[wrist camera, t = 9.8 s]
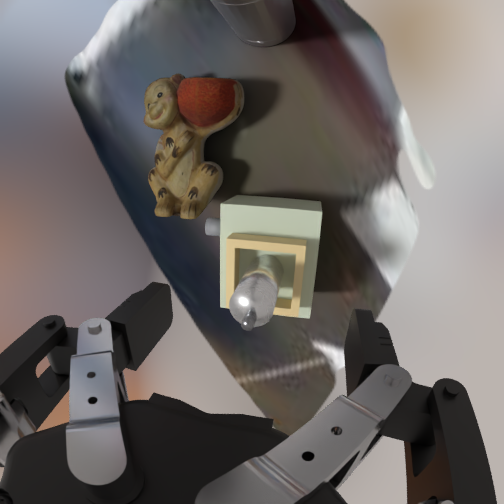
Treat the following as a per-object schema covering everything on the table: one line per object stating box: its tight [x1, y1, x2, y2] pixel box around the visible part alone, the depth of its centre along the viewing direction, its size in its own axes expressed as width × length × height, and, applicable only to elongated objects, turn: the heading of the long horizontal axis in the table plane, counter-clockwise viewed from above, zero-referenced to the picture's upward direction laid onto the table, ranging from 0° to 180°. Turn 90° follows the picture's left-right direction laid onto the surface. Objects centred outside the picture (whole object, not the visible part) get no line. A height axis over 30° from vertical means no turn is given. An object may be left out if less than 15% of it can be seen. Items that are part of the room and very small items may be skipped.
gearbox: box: [205, 195, 322, 319], centre depth 40 cm, size 14×15×10 cm
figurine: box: [144, 74, 244, 219], centre depth 38 cm, size 15×9×20 cm
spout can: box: [229, 255, 284, 331], centre depth 32 cm, size 4×4×11 cm
